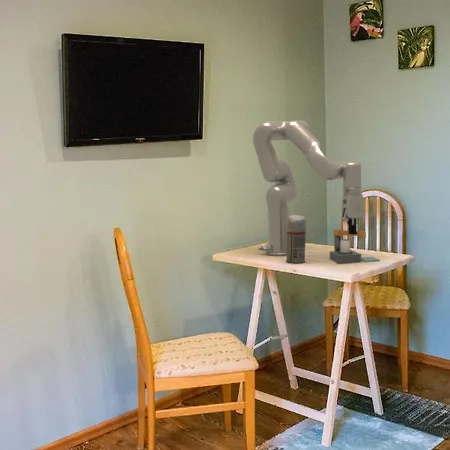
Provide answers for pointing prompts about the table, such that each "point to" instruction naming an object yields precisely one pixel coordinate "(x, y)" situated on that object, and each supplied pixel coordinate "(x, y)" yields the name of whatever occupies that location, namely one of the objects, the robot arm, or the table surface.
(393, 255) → the table surface
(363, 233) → the orange rectangular bar
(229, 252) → the table surface
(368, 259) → the mat
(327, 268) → the table surface
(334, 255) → the socket block
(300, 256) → the spray can
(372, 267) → the table surface
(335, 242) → the post
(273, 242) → the robot arm
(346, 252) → the plug
